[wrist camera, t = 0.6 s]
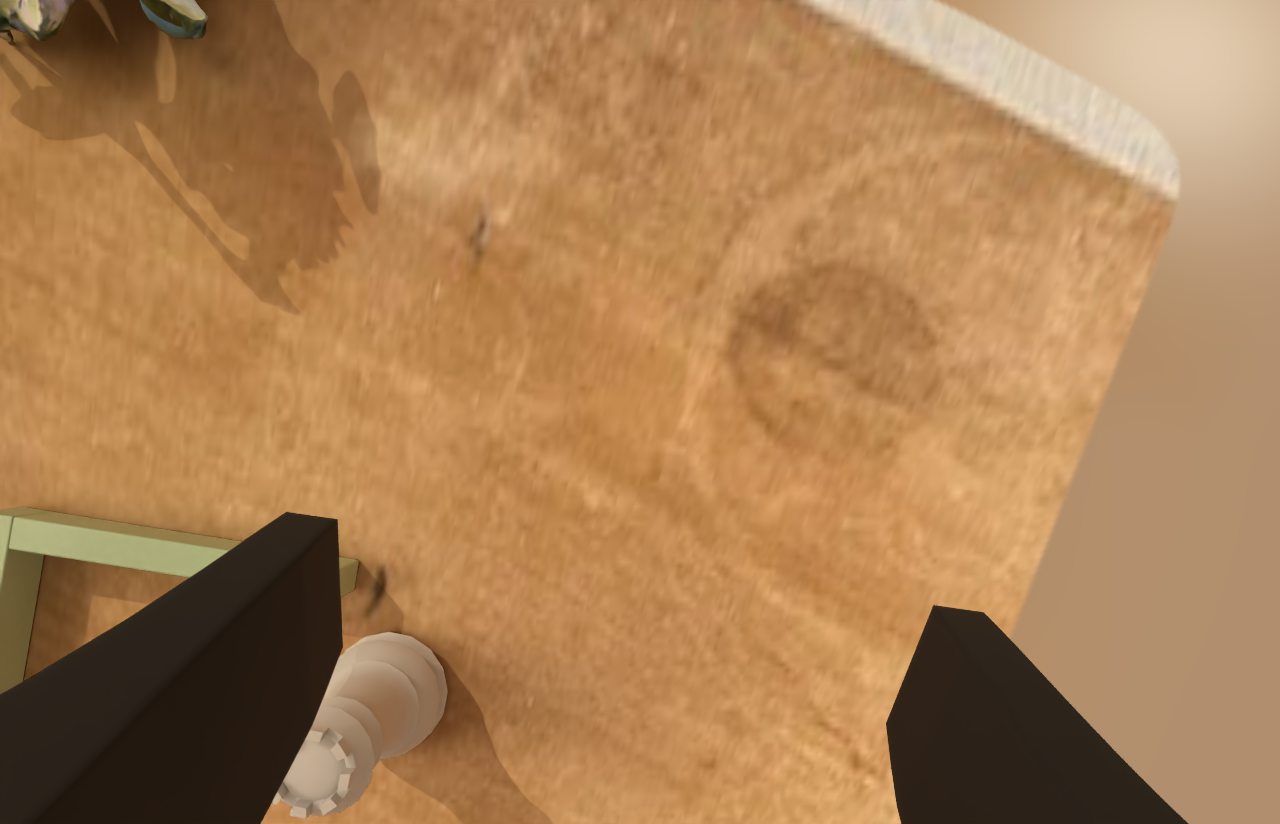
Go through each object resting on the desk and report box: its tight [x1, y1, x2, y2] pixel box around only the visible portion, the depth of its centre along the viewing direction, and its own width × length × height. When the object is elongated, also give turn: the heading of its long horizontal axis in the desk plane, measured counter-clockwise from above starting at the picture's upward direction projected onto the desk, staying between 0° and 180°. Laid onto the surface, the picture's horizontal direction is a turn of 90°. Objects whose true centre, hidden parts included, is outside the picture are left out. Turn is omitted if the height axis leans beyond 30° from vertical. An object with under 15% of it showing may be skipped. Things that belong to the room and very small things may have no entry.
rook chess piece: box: [272, 632, 448, 819], centre depth 28 cm, size 4×4×8 cm
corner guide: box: [0, 507, 359, 694], centre depth 31 cm, size 15×13×2 cm
